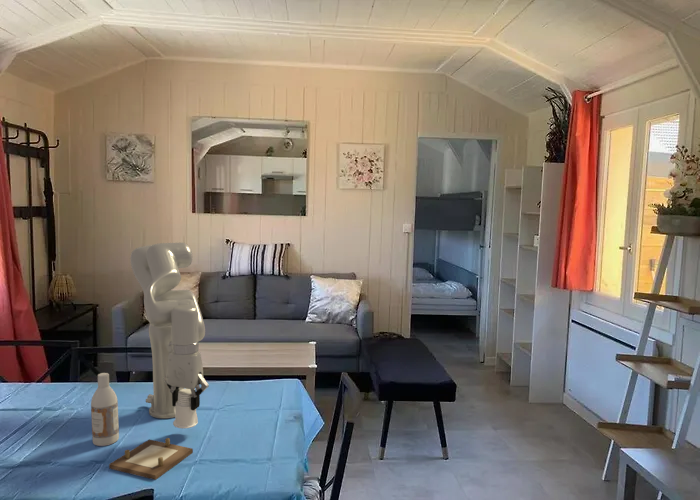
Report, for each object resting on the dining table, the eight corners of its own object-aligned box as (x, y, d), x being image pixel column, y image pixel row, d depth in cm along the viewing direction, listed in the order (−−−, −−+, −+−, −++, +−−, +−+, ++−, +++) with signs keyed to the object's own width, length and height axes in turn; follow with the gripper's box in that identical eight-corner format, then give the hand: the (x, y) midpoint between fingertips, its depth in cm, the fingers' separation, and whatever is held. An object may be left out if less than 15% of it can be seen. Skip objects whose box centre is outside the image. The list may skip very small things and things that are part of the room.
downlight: (166, 425, 156) (167, 393, 155) (182, 415, 163) (183, 384, 161) (188, 432, 153) (189, 399, 152) (204, 422, 160) (205, 390, 158)
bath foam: (87, 444, 152) (84, 377, 150) (105, 434, 158) (102, 369, 156) (106, 448, 150) (104, 379, 147) (124, 437, 156) (121, 371, 154)
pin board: (109, 468, 139) (108, 456, 139) (149, 443, 153) (148, 432, 153) (155, 479, 134) (155, 467, 133) (192, 452, 148) (192, 441, 147)
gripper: (152, 347, 154) (153, 406, 156) (202, 355, 148) (202, 417, 151) (169, 340, 161) (170, 396, 163) (217, 348, 155) (218, 406, 158)
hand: (185, 406), depth 157 cm, fingers closed on downlight, 5 cm apart
